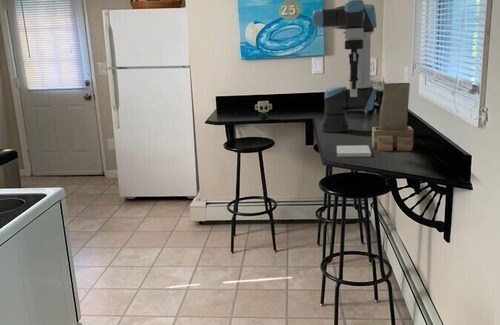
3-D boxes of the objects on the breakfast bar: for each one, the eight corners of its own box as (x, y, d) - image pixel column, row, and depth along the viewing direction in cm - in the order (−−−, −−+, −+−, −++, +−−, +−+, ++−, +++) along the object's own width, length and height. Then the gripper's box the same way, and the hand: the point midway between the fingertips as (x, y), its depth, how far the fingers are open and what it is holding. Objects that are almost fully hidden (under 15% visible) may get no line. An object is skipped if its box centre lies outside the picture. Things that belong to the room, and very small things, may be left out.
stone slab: (404, 143, 219) (410, 81, 204) (405, 147, 215) (412, 84, 201) (376, 142, 221) (381, 81, 206) (377, 147, 217) (382, 84, 203)
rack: (371, 143, 224) (372, 126, 222) (409, 143, 221) (409, 126, 219) (373, 148, 215) (374, 130, 213) (412, 147, 212) (413, 130, 210)
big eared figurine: (255, 122, 303) (255, 102, 300) (255, 121, 310) (254, 101, 307) (272, 122, 303) (272, 101, 300) (271, 120, 310) (271, 100, 307)
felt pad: (336, 148, 216) (336, 145, 216) (368, 148, 214) (368, 145, 214) (337, 156, 201) (337, 153, 201) (371, 156, 199) (371, 153, 198)
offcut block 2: (395, 148, 212) (396, 135, 210) (409, 148, 211) (410, 135, 209) (397, 150, 208) (397, 137, 206) (411, 150, 207) (411, 137, 205)
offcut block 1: (377, 148, 213) (377, 135, 212) (391, 148, 212) (391, 135, 211) (378, 150, 209) (378, 137, 208) (392, 150, 208) (392, 137, 207)
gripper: (344, 40, 205) (344, 94, 210) (345, 39, 189) (345, 98, 195) (362, 39, 203) (361, 94, 209) (364, 38, 188) (363, 98, 194)
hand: (353, 96), depth 202 cm, fingers open, 3 cm apart
